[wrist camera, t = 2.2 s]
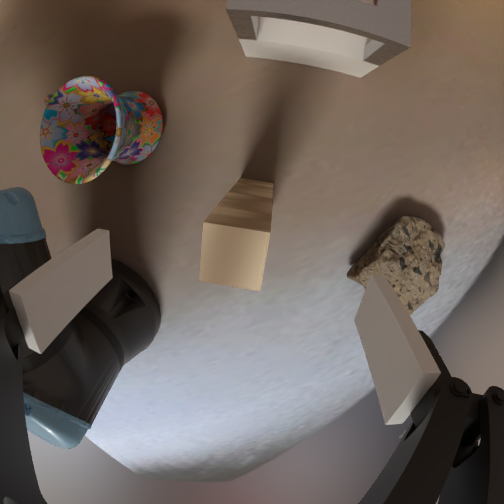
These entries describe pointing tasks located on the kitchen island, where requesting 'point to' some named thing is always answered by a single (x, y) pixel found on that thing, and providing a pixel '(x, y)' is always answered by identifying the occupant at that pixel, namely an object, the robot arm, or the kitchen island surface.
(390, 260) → the rock
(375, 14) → the frame
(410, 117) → the kitchen island surface
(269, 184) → the tall wooden block
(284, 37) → the box
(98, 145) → the mug
